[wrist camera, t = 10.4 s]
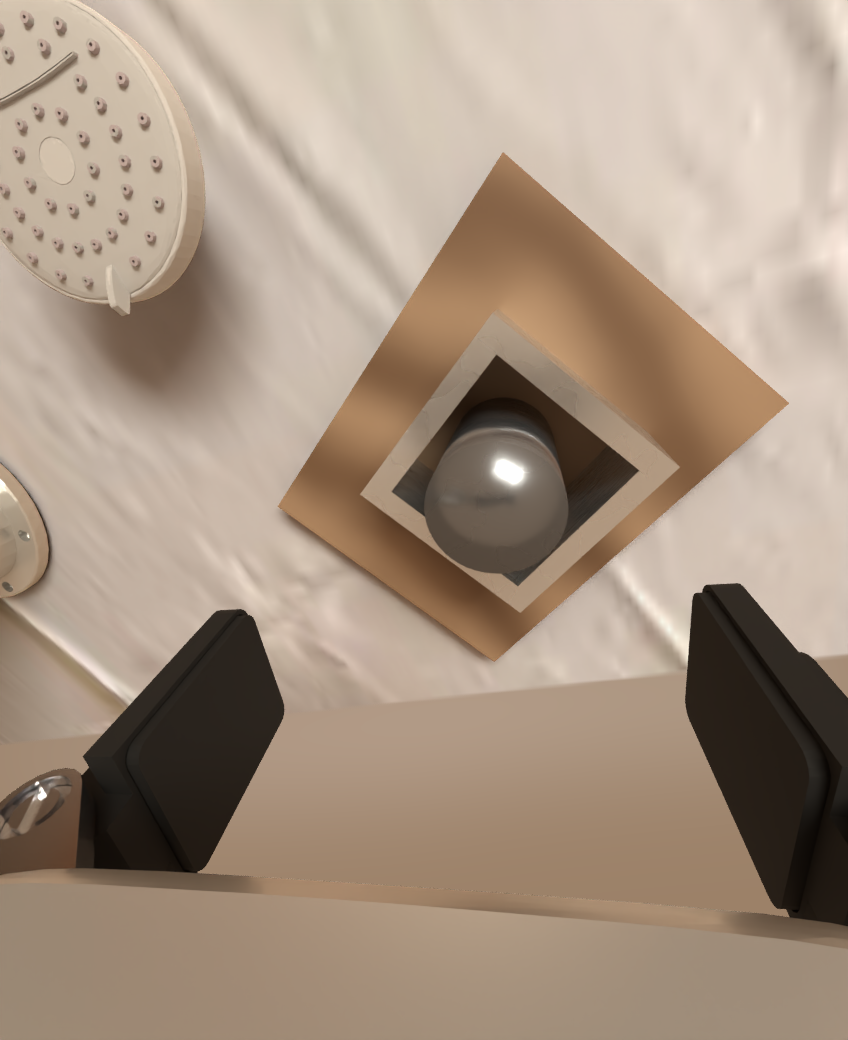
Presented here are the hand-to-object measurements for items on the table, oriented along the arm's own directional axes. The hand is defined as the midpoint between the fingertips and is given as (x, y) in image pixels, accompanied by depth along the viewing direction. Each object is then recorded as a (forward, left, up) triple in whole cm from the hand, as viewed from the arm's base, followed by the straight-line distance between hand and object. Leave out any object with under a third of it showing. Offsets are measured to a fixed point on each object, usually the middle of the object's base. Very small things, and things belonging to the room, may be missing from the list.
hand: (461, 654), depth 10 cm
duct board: (0, -1, -17) cm, 17 cm away
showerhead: (0, +19, -17) cm, 26 cm away
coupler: (0, 0, -16) cm, 16 cm away
